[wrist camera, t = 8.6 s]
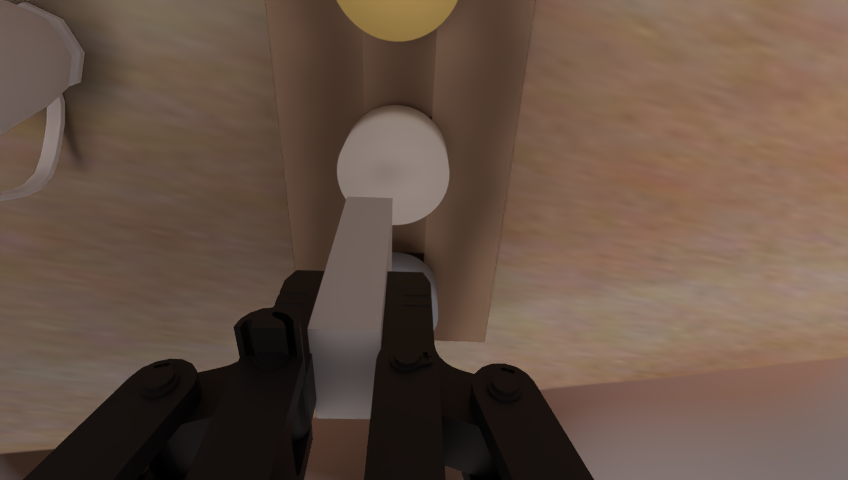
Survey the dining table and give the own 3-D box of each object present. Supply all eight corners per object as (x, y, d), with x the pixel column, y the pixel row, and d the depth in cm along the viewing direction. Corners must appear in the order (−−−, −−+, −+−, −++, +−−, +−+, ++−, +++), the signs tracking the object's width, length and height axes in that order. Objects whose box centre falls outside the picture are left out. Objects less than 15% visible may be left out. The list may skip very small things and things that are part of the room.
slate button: (357, 294, 30) (345, 349, 25) (355, 226, 27) (341, 275, 23) (433, 297, 30) (435, 353, 26) (438, 230, 28) (441, 279, 23)
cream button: (353, 180, 26) (339, 222, 21) (351, 90, 24) (334, 116, 19) (441, 184, 26) (445, 227, 22) (447, 94, 24) (453, 122, 19)
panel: (312, 307, 33) (302, 335, 30) (267, -173, 20) (243, -197, 17) (479, 313, 33) (484, 342, 30) (543, -156, 20) (562, -177, 17)
